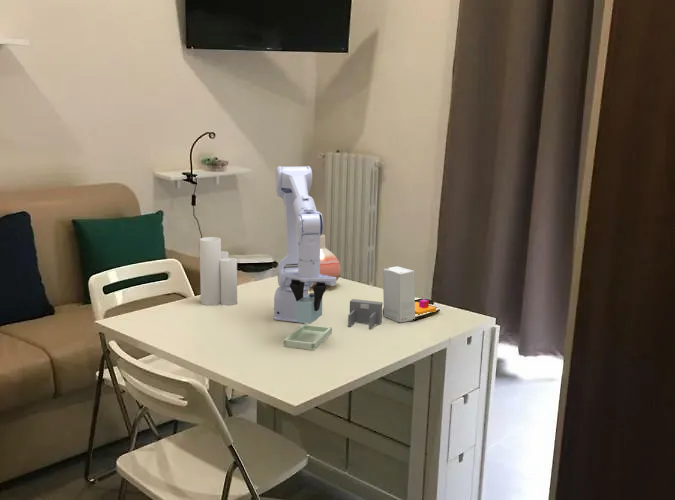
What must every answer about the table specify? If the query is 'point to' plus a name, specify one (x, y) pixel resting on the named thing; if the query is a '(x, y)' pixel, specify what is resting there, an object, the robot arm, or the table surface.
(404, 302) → the skincare box
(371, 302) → the bay
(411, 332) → the table surface
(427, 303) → the orange flat block
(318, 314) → the tall blue-grey prism
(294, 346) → the tray
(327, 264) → the vase
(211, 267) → the vase
